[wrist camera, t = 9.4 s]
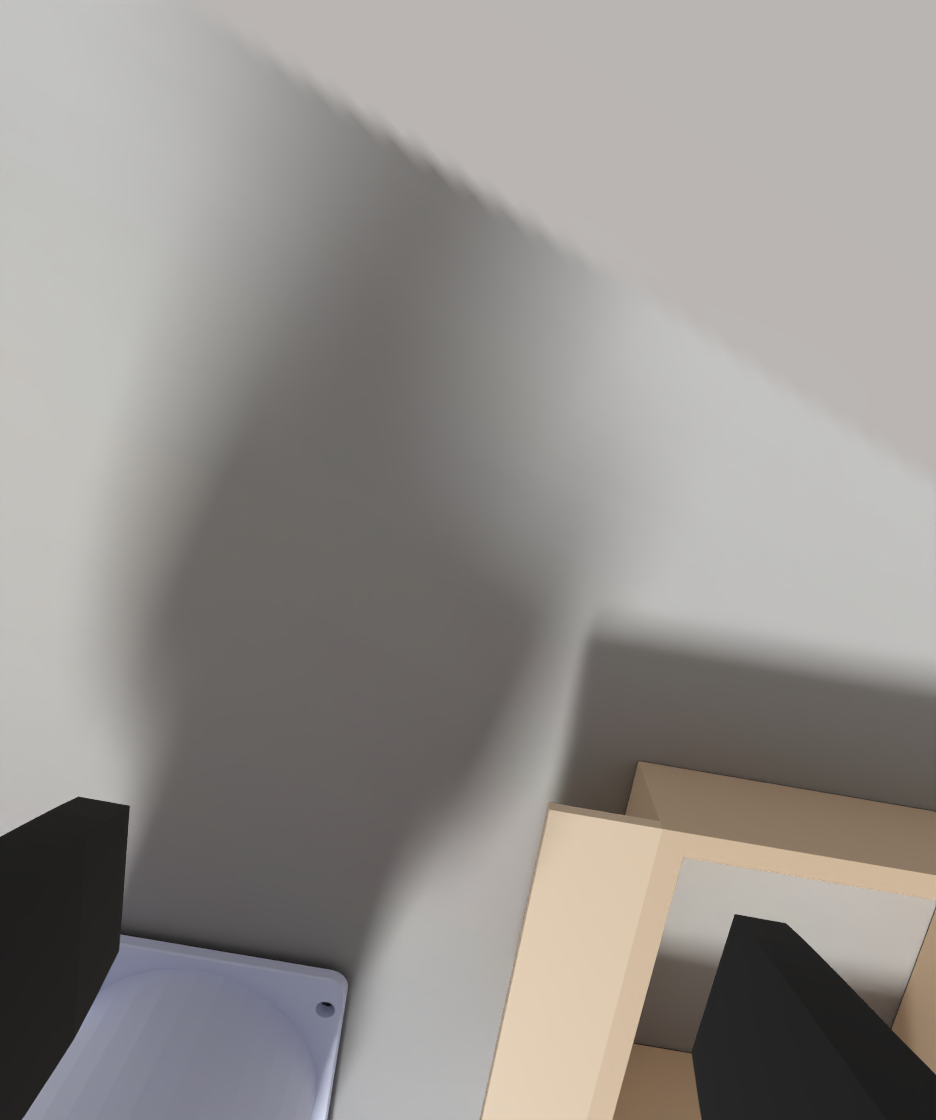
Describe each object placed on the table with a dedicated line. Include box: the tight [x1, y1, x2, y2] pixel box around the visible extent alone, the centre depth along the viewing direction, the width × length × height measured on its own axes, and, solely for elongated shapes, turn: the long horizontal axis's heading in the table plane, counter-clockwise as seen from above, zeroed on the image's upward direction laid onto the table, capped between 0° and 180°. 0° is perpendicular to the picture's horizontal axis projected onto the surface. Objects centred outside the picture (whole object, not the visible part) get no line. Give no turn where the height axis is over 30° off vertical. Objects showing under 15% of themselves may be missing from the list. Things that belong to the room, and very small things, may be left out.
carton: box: [480, 761, 936, 1120], centre depth 20 cm, size 9×14×3 cm, turn 81°
